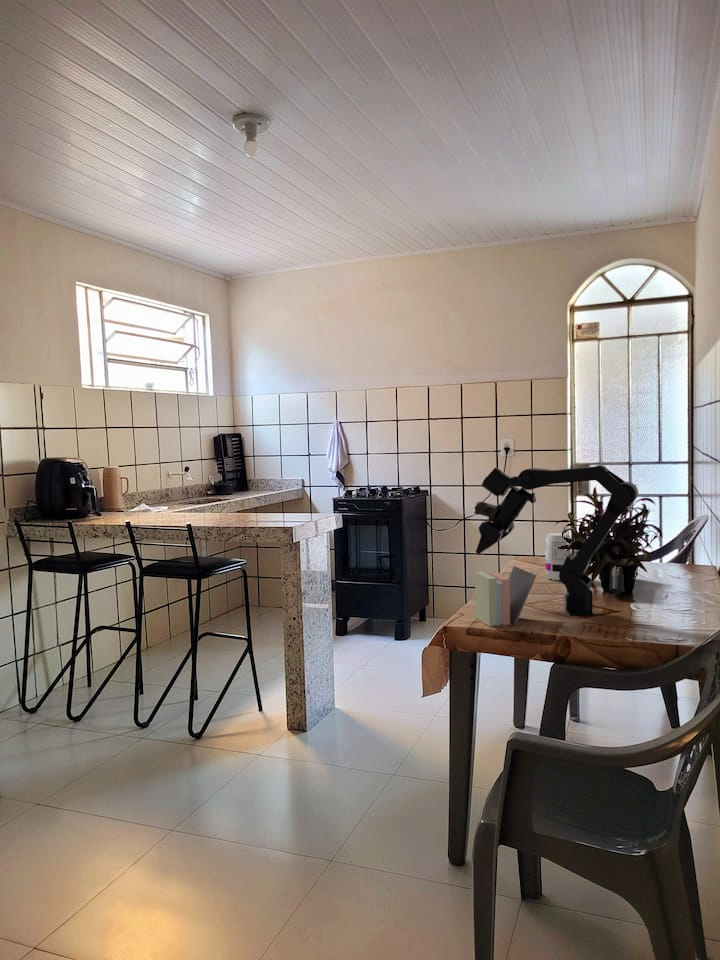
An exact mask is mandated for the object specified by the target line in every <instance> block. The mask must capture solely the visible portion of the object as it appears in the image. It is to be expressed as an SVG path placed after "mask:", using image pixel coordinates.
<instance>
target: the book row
mask: <svg viewBox="0 0 720 960" xmlns="http://www.w3.org/2000/svg"><path fill="white" fill-rule="evenodd" d="M474 591H475V593H474V594H475V595H474V600H475V607H474V608H475V609H474V610H475V618H476V620H478V621H479V622H480V621H481V623H483V624H485V625H486V624H487V625H486V626H488V627H489V626H490V627H496V626H495V625H497V626H508V625H507V624H510V625H511V623H510V579H509V577H505V576H504V575H501V574H500V573H497V572H495V571H494V572H488V573H486V572H484V571H475V572H474ZM501 624H503V625H501Z"/></svg>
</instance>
